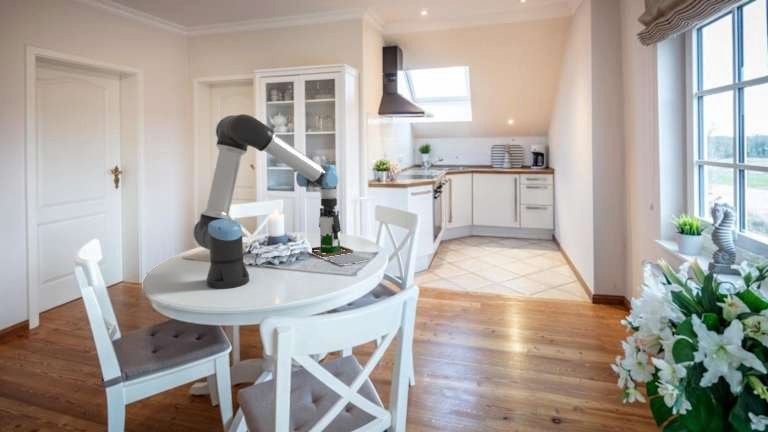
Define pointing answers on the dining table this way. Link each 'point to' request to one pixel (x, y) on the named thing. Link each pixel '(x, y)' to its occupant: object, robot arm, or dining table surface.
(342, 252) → the walnut collar
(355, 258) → the grey mat
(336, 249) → the soya milk
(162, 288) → the dining table surface
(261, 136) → the robot arm
